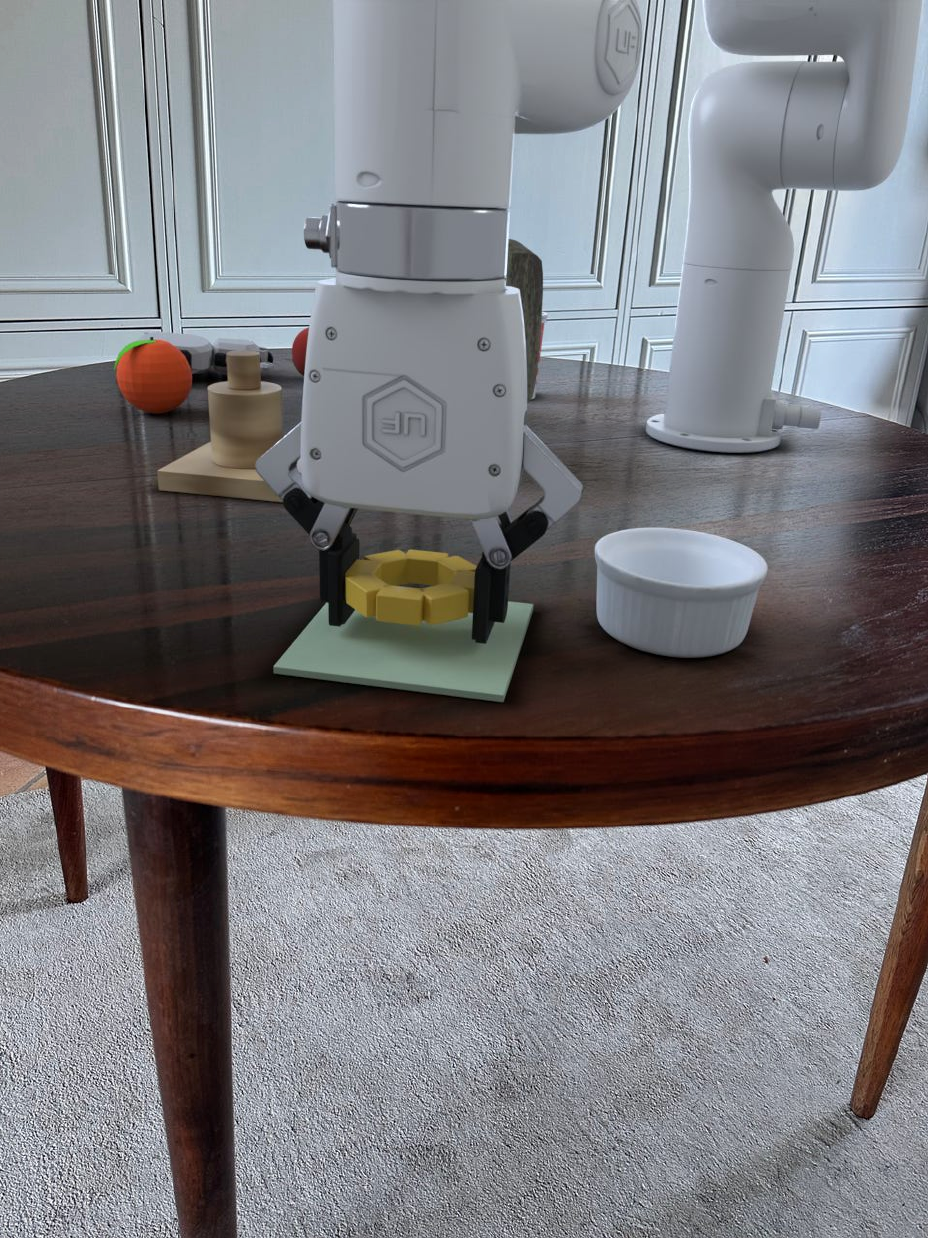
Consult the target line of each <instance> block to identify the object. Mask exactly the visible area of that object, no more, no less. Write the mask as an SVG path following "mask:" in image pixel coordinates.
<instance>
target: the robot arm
mask: <svg viewBox="0 0 928 1238" xmlns="http://www.w3.org/2000/svg"><path fill="white" fill-rule="evenodd" d="M922 6H923V0H702V12H703V20H704V25H705V26H704V27H705V31H706V34H707V37H708V39H709V40H710V42H711V44H713V45H714V46H715V48H717V49H719V50H720V51H722V52H724V53H727V54H732V55H739V56H750V57H751V56H752V57H753V56H754V57H789V56H791V57H792V56H793V57H794V56H797V57H798V56H838V57H840V59H842V61H841V60H840V61H806V60H793V61H792V60H784V61H783V60H778V61H777V60H776V61H773V60H772V61H771V60H769V61H768V60H767V61H750V62H741V63H737V64H732V65H728V66H724V67H723V68H720V69H718V70H716V71H714V72H712V73H711V74H710V75H708V76H707V77H706V78H705V79H704V80H703V81H702V82H701V84H700V85H699V86H698V88H697V90H696V91H695V93H694V96H693V97H692V101H691V104H690V109H689V115H688V125H687V126H688V127H687V140H688V142H687V143H688V164H689V165H688V170H689V171H688V172H689V174H688V175H689V176H688V177H689V180H688V184H689V185H688V186H689V187H688V208H687V221H686V232H685V240H684V249H683V257H682V265H681V273H680V282H679V288H678V298H677V306H676V314H675V321H674V322H675V323H674V330H673V338H672V347H671V354H670V355H671V357H670V362H669V363H670V364H669V371H668V379H667V387H666V388H667V389H666V396H665V403H664V404H665V405H664V413H659V414H655V415H652V416H651V417H649V418H648V419H647V420H646V424H645V426H646V427H645V432H646V433H647V435H648V436H650V437H651V438H653V439H654V440H657V441H659V442H661V443H665V444H667V445H672V446H675V447H678V448H679V447H680V448H683V449H689V450H697V451H704V452H714V453H731V454H733V453H734V454H735V453H737V454H741V453H746V454H747V453H756V452H757V453H759V452H765V451H771V450H773V449H775V448H776V447H778V446H779V445H780V444H781V439H782V436H783V435H782V430H783V428H784V426H788V427H797V428H799V429H811V430H818V429H819V427H820V424H821V418H822V409H821V407H813V406H812V407H810V406H804V404H796V403H789V404H788V403H786V402H784V401H779V400H778V399H777V397H776V395H775V394H774V392H773V389H772V388H773V382H774V375H775V369H776V363H777V358H778V351H779V346H780V339H781V334H782V327H783V321H784V315H785V310H786V304H787V303H786V302H787V297H788V292H789V285H790V278H791V272H792V267H793V264H794V263H793V262H794V255H795V241H794V237H793V236H794V235H793V232H792V229H791V227H790V225H789V223H788V221H787V218H786V217H785V215H784V214H783V212H782V210H781V209H780V207H779V205H778V203H777V202H776V200H775V197H774V195H773V192H775V191H777V190H778V191H779V190H780V191H781V190H782V191H783V190H789V189H790V190H811V191H836V192H837V191H838V192H846V191H847V192H850V191H852V192H853V191H856V192H857V191H866V190H870V189H873V188H875V187H877V186H879V185H880V184H881V185H882V184H883V182H885V181H887V179H888V178H889V177H890V176H891V174H892V173H893V171H894V170H895V168H896V166H897V164H898V161H899V160H900V157H901V155H902V154H901V153H902V150H903V147H904V142H905V138H906V133H907V128H908V127H907V126H908V119H909V113H910V105H911V97H912V89H913V82H914V81H913V80H914V74H915V73H914V71H915V65H916V64H915V63H916V57H917V56H916V55H917V47H918V39H919V30H920V22H921V15H922ZM332 23H333V24H332V25H333V28H332V30H333V31H332V33H333V34H332V35H333V36H332V37H333V108H334V109H333V122H334V123H333V124H334V125H333V126H334V127H333V129H334V130H333V133H334V138H333V139H334V200H336V201H335V203H330V205H329V206H330V211H328V214H323V215H322V216H321V217H316V216H315V217H311V216H309V217H306V219H305V221H304V225H303V240H304V245H305V248H307V249H308V250H321V252H323V254H329V255H328V256H329V259H330V266H331V268H335V277H332V278H327V279H321V280H317V281H316V285H315V289H314V294H313V300H312V306H311V314H310V317H309V325H308V327H309V332H308V341H307V351H306V361H305V373H304V376H303V388H302V401H301V402H302V403H301V421H300V422H299V423H297V425H296V426H294V428H292V429H291V430H290V431H289V432H288V433H286V434H285V435H283V438H282V439H281V440H280V441H279V442H277V443H276V444H275V445H274V446H273V447H272V448H270V449H269V450H268V451H267V452H266V453H265V454H264V455H262V456H261V457H260V458H259V459H258V460H257V461H256V464H255V469H256V471H257V473H258V474H259V476H260V477H261V478H262V479H263V480H264V481H265V483H266V484H267V485H268V486H269V487H270V488H271V490H272V491H273V492H274V493H275V494H276V496H277V497H278V496H279V497H280V498H281V499H282V501H283V502H282V504H283V505H282V506H283V508H284V509H285V511H286V512H287V513H288V514H289V515H290V516H291V517H292V518H293V519H294V520H295V521H296V523H298V525H299V526H300V527H301V528H302V529H303V530H304V531H305V532H306V533H307V534H308V535H309V536H308V537H309V543H310V545H311V546H312V547H313V548H315V550H318V561H319V563H318V565H319V599H320V602H321V603H324V604H326V603H328V614H329V625H330V626H338V627H340V626H341V625H342V624H345V623H346V622H347V620H348V619H349V618H350V616H351V615H352V614H353V612H354V611H355V609H354V608H352V607H351V606H350V605H348V604H347V603H346V598H345V573H346V571H347V570H348V569H349V568H350V567H351V566H352V564H353V563H354V562H355V561H356V560H357V559H360V539H359V538H357V533H354V532H353V527H352V526H351V524H352V522H353V520H354V518H355V516H356V513H357V512H358V510H367V511H377V512H387V513H395V514H396V513H398V514H407V515H408V514H409V515H417V516H427V517H437V518H449V519H463V520H469V521H470V524H471V526H472V528H473V531H474V533H475V536H476V538H477V540H478V542H479V545H480V547H481V550H482V552H481V557H480V559H479V561H478V563H477V565H476V566H477V567H476V570H475V580H474V600H473V620H472V640H475V642H476V643H482V644H486V643H487V640H488V638H489V635H490V633H491V630H492V628H493V626H494V623H495V622H499V623H504V622H505V619H506V615H507V609H508V601H509V597H510V596H509V595H510V579H511V577H510V576H511V565H512V564H511V562H512V561H514V560H515V559H516V558H517V557H519V556H520V555H521V554H522V553H523V552H525V551H527V549H528V548H530V547H531V546H532V545H534V544H535V543H536V542H538V541H539V540H540V539H541V538H542V537H543V536H544V535H545V534H546V532H547V531H548V530H550V529H551V528H552V527H553V526H554V525H556V524H557V523H558V522H559V521H560V520H561V519H563V518H564V517H565V516H566V515H568V513H570V512H571V511H572V510H573V509H574V508H575V507H577V506H578V504H579V503H580V502H581V499H582V496H583V493H584V486H583V485H584V484H582V482H581V481H580V480H579V479H578V478H577V477H576V476H575V475H574V474H573V473H572V471H570V469H568V468H567V466H566V465H565V464H564V463H563V461H561V460H560V459H559V458H558V457H557V455H555V454H554V453H553V452H552V451H551V449H549V448H548V446H547V445H546V444H545V443H544V442H543V441H542V440H541V439H540V438H539V437H538V436H537V435H536V434H535V433H534V432H533V431H532V430H531V428H530V427H528V404H527V360H526V340H525V328H524V319H523V310H522V303H521V296H520V290H519V289H518V288H515V287H510V286H506V274H507V256H508V239H510V238H509V236H510V221H511V220H510V219H511V218H510V217H511V210H510V209H509V208H511V206H512V205H511V204H512V185H513V168H514V166H513V165H514V152H515V151H514V149H515V135H527V136H528V135H529V136H530V135H532V136H533V135H534V136H555V135H557V136H558V135H570V134H576V133H580V132H584V131H587V130H589V129H592V128H594V127H596V126H598V125H599V124H601V123H603V122H604V121H606V120H607V119H609V118H610V117H611V116H612V115H613V114H614V113H615V112H616V111H617V110H618V109H619V108H620V106H621V105H622V104H623V103H624V101H625V99H626V98H627V97H628V95H629V93H630V91H631V88H632V87H633V84H634V82H635V79H636V76H637V73H638V69H639V66H640V62H641V55H642V47H643V46H642V45H643V28H642V27H643V26H642V25H643V24H642V18H641V12H640V7H639V4H638V1H637V0H332ZM300 458H301V474H300V473H299V471H298V469H297V461H298V460H299V459H300ZM525 472H526V473H527V474H528V475H529V476H530V477H531V479H533V480H534V481H535V482H536V483H537V484H538V486H540V487H541V489H542V491H543V494H544V495H542V497H540V499H539V500H538V501H536V503H535V504H533V505H532V506H530V507H529V508H527V509H526V510H525V511H524V512H523V513H521V514H520V515H519V516H518V517H516V518H515V519H513V518H512V515H511V513H510V511H509V509H510V508H511V506H512V505H513V504H514V502H515V500H516V497H517V494H518V491H519V488H520V487H521V485H522V482H523V479H524V475H525Z"/></svg>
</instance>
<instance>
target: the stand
mask: <svg viewBox="0 0 928 1238" xmlns="http://www.w3.org/2000/svg"><path fill="white" fill-rule="evenodd" d="M226 356H227V374H228V375H227V380H226V381H220V382H215V383H212V384H210V385H208V386H207V388H206V389H207V402H208V403H207V404H208V405H207V406H208V417H209V418H208V419H209V433H210V441H208V442H206V443H204V444H202V445H201V446H199V447H198V448H196V449H194V450H191V452H189V453H187V454H185V455H183V456H181V457H179V458H178V459H176V460H174V461H172V462H170V463H169V464H167V465H164V466H163V467H161V468H158V470H157V471H156V472H157V473H156V474H157V485H158V490H159V491H163V492H172V493H174V492H175V493H183V494H194V495H205V496H213V497H223V498H232V499H233V498H234V499H243V500H244V499H245V500H255V501H263V502H275V503H283V501H282V499H281V498H280V497H279V496H278V497H277V496H276V494H275V493H274V492H273V491H272V490H271V488H270V487H269V486H268V485H267V484H266V483H265V481H264V480H263V479H262V478H261V477H260V476H259V474H258V473H257V471H256V469H255V464H256V461H257V460H258V459H259V458H260V457H261V456H262V455H264V454H265V453H266V452H267V451H268V450H269V449H270V448H272V447H273V446H274V445H275V444H276V443H277V442H279V441H280V440H281V439H282V438H283V437H284V414H283V410H284V409H283V388H282V386H281V385H280V384H277V383H275V382H274V383H273V382H269V381H262V372H261V368H260V353H259V352H256V351H248V350H237V351H230V352H227V354H226ZM297 469H298V471H299V473H300V474H301V458H300V459H299V460H298V461H297Z"/></svg>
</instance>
